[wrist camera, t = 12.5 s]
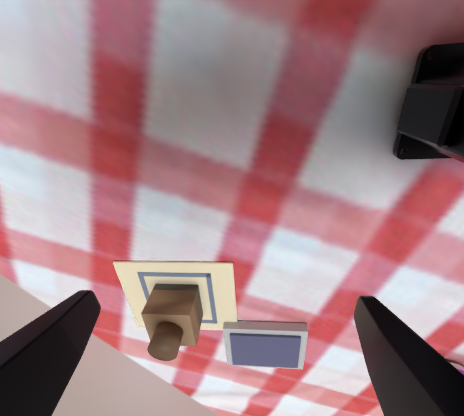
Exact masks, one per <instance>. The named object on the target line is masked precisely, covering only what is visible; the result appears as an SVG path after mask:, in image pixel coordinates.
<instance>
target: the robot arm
mask: <svg viewBox="0 0 464 416" xmlns="http://www.w3.org/2000/svg"><path fill="white" fill-rule="evenodd" d="M430 51H431V52H432V57H431V59H430V60H429V61H428V60H427V55H428V53H429V52H430ZM397 130H398V131H399V132H398V136H397V140H396V144H395V148H394V156H395V157H397V158H399V159H433V158H454V159H456V160H459V161H461V162H464V43H454V44H441V45H432V46H428V47H426V48H424V49H423V50H422V51H421V52H420V54H419V56H418V59H417V63H416V67H415V71H414V75H413V79H412V82H411V85H410V86H409V87H408V89H407V92H406V96H405V100H404V104H403V107H402V111H401V115H400V119H399V123H398V127H397ZM403 149H405V152H404V153H403V154H400V152H401V151H402V150H403ZM100 309H101V307H100V304H99V302H98V300H97V298H96V296H95V294H94V292H93V291H91V290H81V291H78V292H77V293H75V294H74V295H72V296H70V297H69V298H67V299H66V300H64V301H63V302H61V303H60V304H58V305H57V306H55V307H53V308H52V309H51V310H49V311H47V312H46V313H45V314H43V315H41V316H40V317H38V318H37V319H35V320H34V321H32V322H30V323H29V324H27V325H26V326H24V327H23V328H21V329H20V330H18V331H16V332H15V333H13V334H12V335H11V336H9V337H7V338H6V339H4V340H3V341H1V342H0V416H52V414H53V412H54V410H55V408H56V406H57V404H58V402H59V400H60V398H61V396H62V394H63V392H64V390H65V388H66V386H67V385H68V383H69V380H70V379H71V377H72V375H73V373H74V371H75V369H76V367H77V365H78V363H79V361H80V359H81V357H82V355H83V352H84V350H85V348H86V345H87V343H88V340H89V338H90V336H91V333H92V331H93V328H94V326H95V323H96V321H97V318H98V316H99V314H100ZM354 320H355V324H356V328H357V332H358V335H359V339H360V343H361V347H362V351H363V354H364V358H365V362H366V366H367V369H368V373H369V376H370V379H371V382H372V384H373V387H374V390H375V392H376V395H377V398H378V400H379V403H380V406H381V408H382V411H383V414H384V416H464V375H463V374H462V373H461V372H460V371H459V370H458V369H457V368H455V367H454V366H453V365H452V364H451V363H450V362H448V361H447V360H446V359H445V358H444V357H443V356H442V355H440V354H439V353H438V352H437V351H436V350H435V349H434V348H432V347H431V346H430V345H429V344H428V343H427V342H426V341H424V340H423V339H422V338H421V337H420V336H419V335H418V334H416V333H415V332H414V331H413V330H412V329H411V328H410V327H408V326H407V325H406V324H405V323H404V322H403V321H401V320H400V319H399V318H398V317H397V316H396V315H395V314H393V313H392V312H391V311H390V310H389V309H388V308H387V307H385V306H384V305H383V304H382V303H381V302H380V301H379V300H377V299H376V298H375V297H373V296H359V297H358V299H357V303H356V307H355V311H354Z"/></svg>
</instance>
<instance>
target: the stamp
mask: <svg viewBox="0 0 464 416" xmlns="http://www.w3.org/2000/svg"><path fill="white" fill-rule="evenodd" d="M141 315H142V318H143V321H144V324H145V327H146V329H147V332H148V335H149V338H150V344H149V346H148V352H149V354H150V355H151V356H152V357H154V358H156V359H159V360H163V361H170V360H173V359H175V358H176V357H177V354H178V350H179V347H180V346H196V345H197V341H198V336H199V331H200V327H201V322H202V318H203V310H202V304H201V298H200V292H199V286H198V285H195V284H155V286H154V288H153V290H152V292H151V294H150V296H149V298H148V300H147V302H146V304H145V306H144V308H143V310H142V313H141Z"/></svg>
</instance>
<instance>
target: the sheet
mask: <svg viewBox="0 0 464 416" xmlns="http://www.w3.org/2000/svg"><path fill="white" fill-rule="evenodd" d="M113 264H114V267H115V270H116V272H117V275H118V277H119V280H120V283H121V285H122V288H123V290H124V293H125V296H126V298H127V301H128V303H129V306H130V309H131V311H132V314H133V316H134V319H135V321H136V324H137V327H145V324H144V321H143V318H142V315H141V313H142V310H143V308H144V306H145V304H146V302H147V300H148V298H149V296H150V294H151V292H152V290H153V288H154V286H155V284H195V285H198V286H199V292H200V298H201V304H202V310H203V318H202V322H201V327H200V330H223V326H224V322H237V308H236V295H235V282H234V269H233V262H168V261H113Z"/></svg>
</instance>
